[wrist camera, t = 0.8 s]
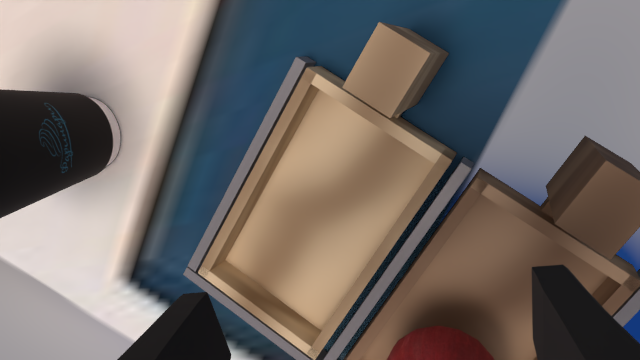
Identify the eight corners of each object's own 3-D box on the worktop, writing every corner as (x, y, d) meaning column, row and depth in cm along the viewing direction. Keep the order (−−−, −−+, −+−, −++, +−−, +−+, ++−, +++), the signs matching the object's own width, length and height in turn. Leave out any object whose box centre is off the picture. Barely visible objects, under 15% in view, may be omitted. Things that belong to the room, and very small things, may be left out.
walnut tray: (692, 200, 25) (747, 246, 19) (468, 445, 32) (457, 538, 26) (528, 101, 26) (531, 115, 20) (345, 355, 33) (308, 422, 27)
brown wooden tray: (651, 276, 26) (659, 289, 25) (470, 468, 32) (467, 488, 30) (307, 56, 30) (296, 56, 28) (197, 265, 35) (183, 274, 34)
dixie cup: (162, 133, 34) (13, 167, 24) (101, 215, 37) (-54, 276, 27) (79, 46, 35) (-101, 43, 25) (25, 133, 38) (-154, 163, 28)
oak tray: (502, 86, 27) (499, 95, 21) (326, 341, 33) (285, 405, 27) (357, -2, 28) (315, -17, 22) (216, 259, 35) (153, 303, 29)
